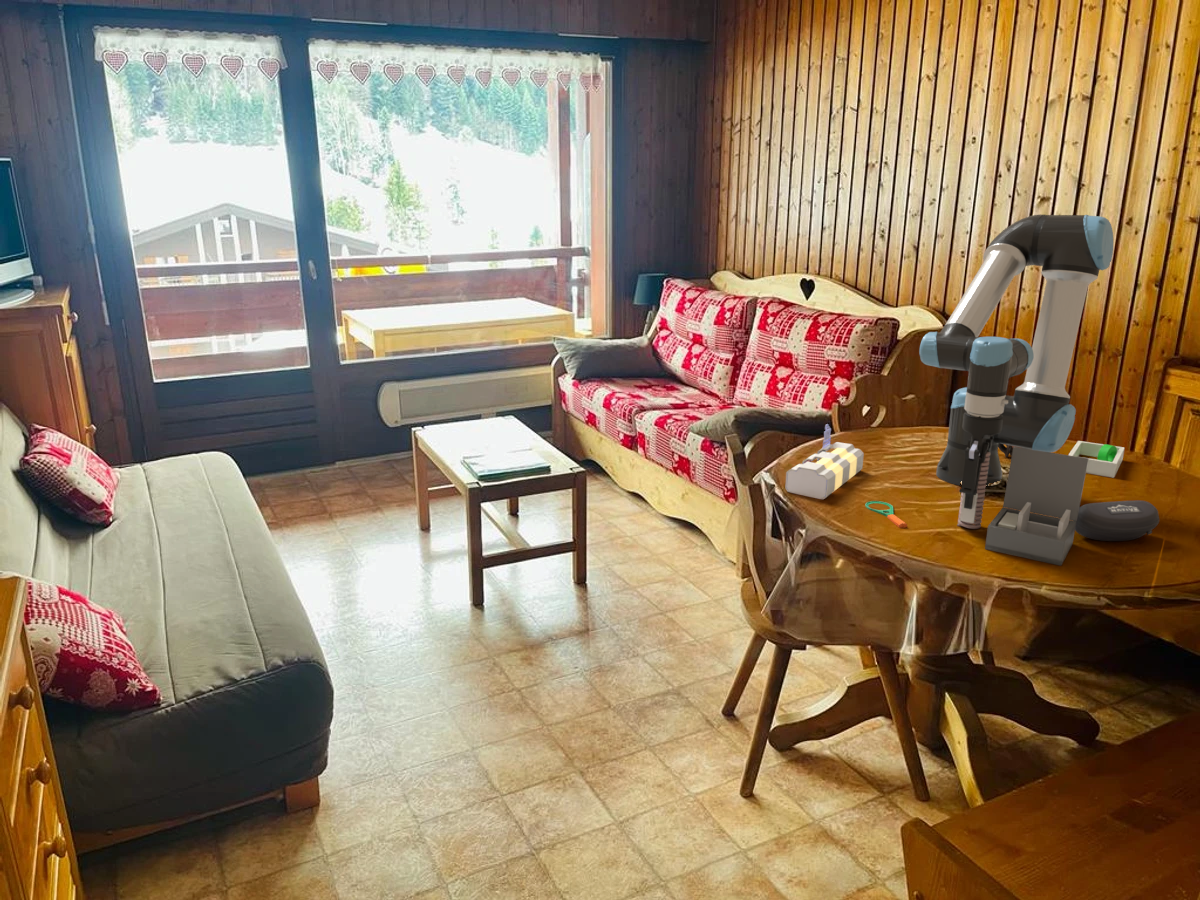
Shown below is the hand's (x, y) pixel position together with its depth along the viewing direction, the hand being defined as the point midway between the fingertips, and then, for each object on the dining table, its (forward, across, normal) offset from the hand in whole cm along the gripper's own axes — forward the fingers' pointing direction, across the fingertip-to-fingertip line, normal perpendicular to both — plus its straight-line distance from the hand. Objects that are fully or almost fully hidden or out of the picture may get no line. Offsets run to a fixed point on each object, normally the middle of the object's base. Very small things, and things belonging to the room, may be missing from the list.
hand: (970, 517), depth 186 cm
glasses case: (+3, +12, -25) cm, 28 cm away
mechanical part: (+6, +68, -21) cm, 72 cm away
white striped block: (+3, +9, +36) cm, 38 cm away
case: (+2, -3, -12) cm, 13 cm away
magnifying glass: (+3, -3, +17) cm, 17 cm away
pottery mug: (+5, +58, +2) cm, 58 cm away
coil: (+3, 0, 0) cm, 3 cm away
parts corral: (+4, +63, -16) cm, 65 cm away
